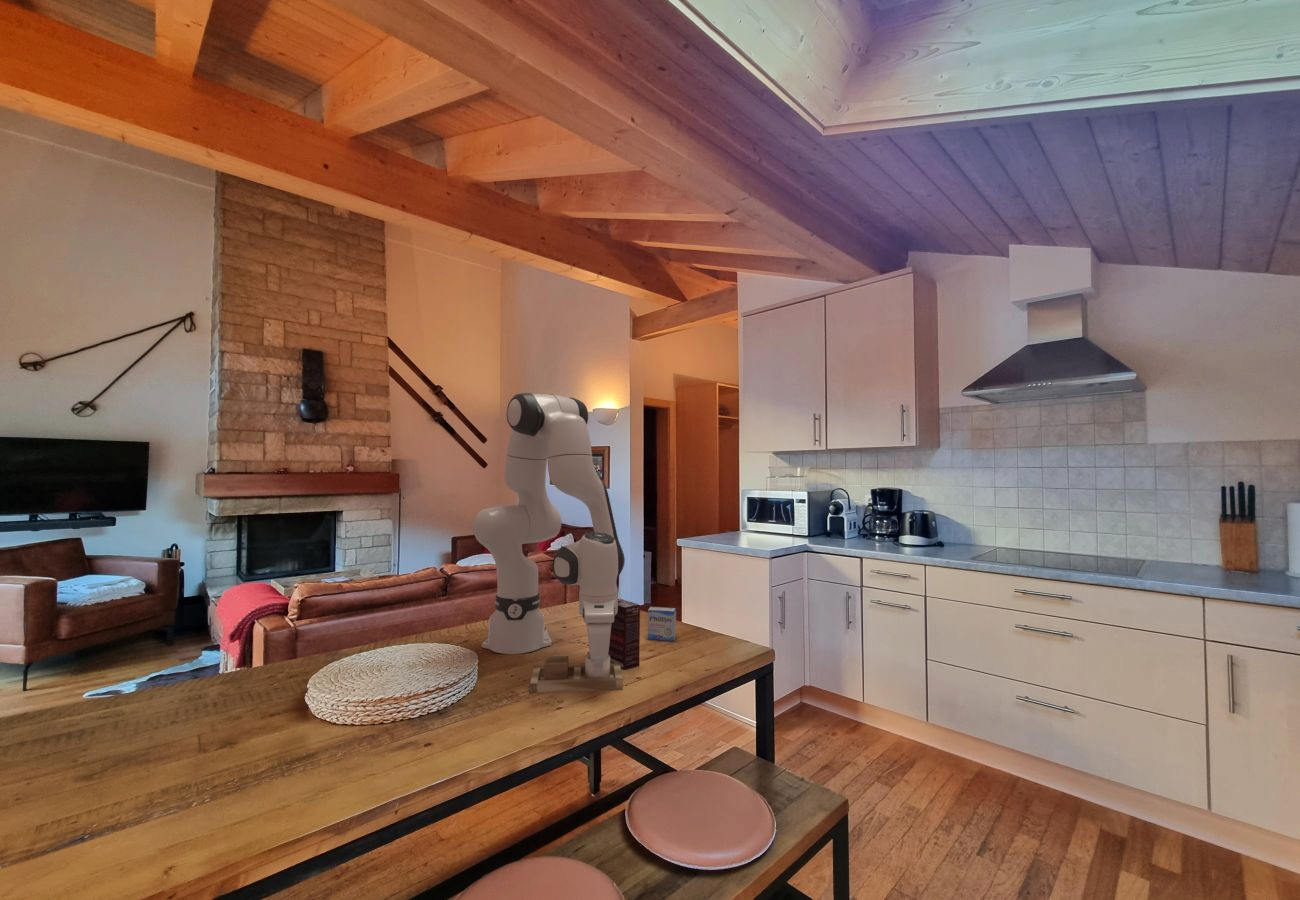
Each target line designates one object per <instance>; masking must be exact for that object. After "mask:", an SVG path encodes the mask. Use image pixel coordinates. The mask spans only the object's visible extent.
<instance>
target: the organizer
mask: <svg viewBox="0 0 1300 900" xmlns="http://www.w3.org/2000/svg"><path fill="white" fill-rule="evenodd" d="M532 670H533V671H532V673H531V678H530V682H529V694H540V693H541V694H544V693H545V694H548V693H565V692H566V693H569V692H570V693H571V692H573V693H574V692H591V691H593V692H594V691H597V692H598V691H617V690H618V691H619V690H623V689H624V688H623V687H624V686H623V685H624V679H623V678H624V677H623V674H622V668H621V667H620V663H616V664H612V663H610V678H592V679H585V664H568V679H565V680H544V678H545V665H537V666H536V665H535V666H533V669H532Z"/></svg>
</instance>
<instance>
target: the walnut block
mask: <svg viewBox="0 0 1300 900" xmlns="http://www.w3.org/2000/svg"><path fill="white" fill-rule="evenodd" d="M568 665H569V655H562V656H561V655H560V656H559V655H557V656H556V655H555V656H553V655H552V656H546V657H545V662H544V666H545V678H544V680H565V679H568Z"/></svg>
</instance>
